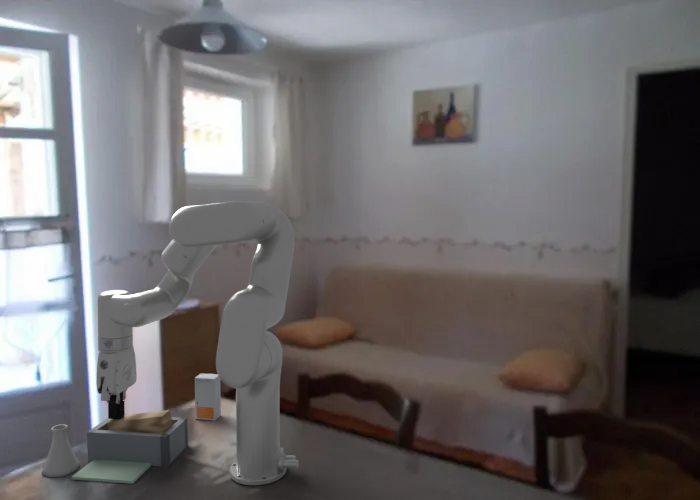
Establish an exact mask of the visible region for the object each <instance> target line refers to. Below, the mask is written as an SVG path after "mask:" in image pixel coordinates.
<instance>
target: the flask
mask: <svg viewBox="0 0 700 500" xmlns="http://www.w3.org/2000/svg"><path fill="white" fill-rule="evenodd" d="M68 428H69V425H68V424H64V423H63V424H62V423H61V424H57V425H53V426H52V427H51V428H50V431H51V432H52V439H51V444H50V448H49V451H48V453H47V457H46V460H45V463H44V466H43V468H42V471H41V475H43V476H45V477H48V478H59V477H65V476H66V475H69V474H71V473H74V472H76V471H77V470H78V468H79V467H80V466H81V463H80V461H79V459H78V457H77V456H76V454H75V452H74V450H73V447H72V446H71V444H70V441H69V438H68V437H69V436H68V432H67V431H68Z"/></svg>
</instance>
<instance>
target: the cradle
mask: <svg viewBox="0 0 700 500" xmlns="http://www.w3.org/2000/svg"><path fill="white" fill-rule="evenodd" d="M171 418H172V424H173V426H171V427H170V428H169V429H168V430H167V431H166V432H165V433H164V434H159V433H142V432H125V431H108V426H107V422H109V421H110V420H111V419H109V418H108V417H107V418H106V419H104V420H102V421H101V422H100V423H98V424H97V425H95V426H93V427H92V428H90V429H89V430H88V431H87V432H86V440H87V442H86V446H87V462H88V463H90V462H91V461H93V460H94V459H96V460H111V461H126V462H141V463H151V467H164V468H167V467H168V466H169V465H171V463H172V462H174V460H176V458H178V456H180V454H181V453H182V452H183V451H184V450H185V449H186V448H187V447H188V446H189V445H188V444H189V441H188V440H189V438H188V437H189V436H188V435H189V434H188V433H189V432H188V417H179V416H178V417H175V416H171Z"/></svg>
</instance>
